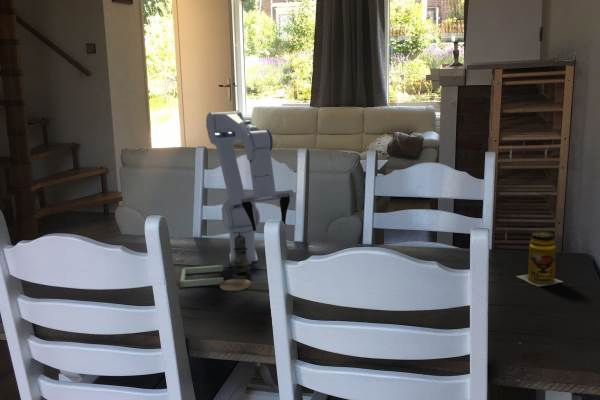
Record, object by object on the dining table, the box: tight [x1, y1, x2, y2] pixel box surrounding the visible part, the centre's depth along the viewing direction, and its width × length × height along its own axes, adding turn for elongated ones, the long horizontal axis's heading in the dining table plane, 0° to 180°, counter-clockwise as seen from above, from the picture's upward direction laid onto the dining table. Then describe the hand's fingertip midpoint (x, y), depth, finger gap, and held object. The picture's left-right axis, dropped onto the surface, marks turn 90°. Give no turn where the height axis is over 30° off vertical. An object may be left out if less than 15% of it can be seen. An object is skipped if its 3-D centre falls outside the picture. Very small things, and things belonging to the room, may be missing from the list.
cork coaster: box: [219, 278, 252, 292], centre depth 155 cm, size 8×8×1 cm
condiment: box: [516, 231, 564, 287], centre depth 150 cm, size 7×8×12 cm
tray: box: [179, 264, 224, 288], centre depth 162 cm, size 12×11×2 cm
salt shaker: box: [229, 232, 253, 279], centre depth 162 cm, size 6×6×12 cm
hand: (269, 228), depth 157 cm, fingers open, 7 cm apart
